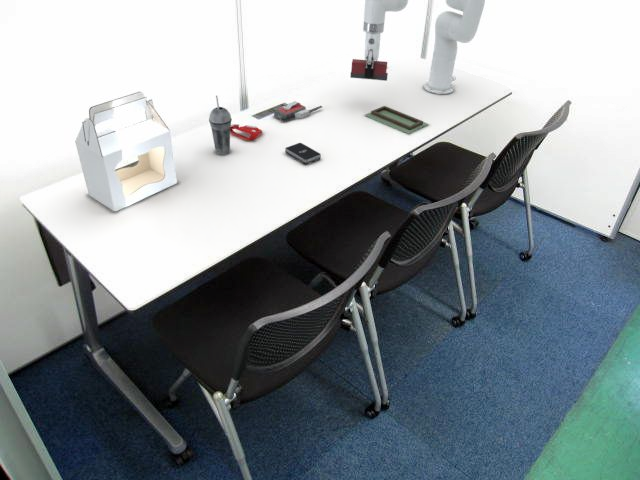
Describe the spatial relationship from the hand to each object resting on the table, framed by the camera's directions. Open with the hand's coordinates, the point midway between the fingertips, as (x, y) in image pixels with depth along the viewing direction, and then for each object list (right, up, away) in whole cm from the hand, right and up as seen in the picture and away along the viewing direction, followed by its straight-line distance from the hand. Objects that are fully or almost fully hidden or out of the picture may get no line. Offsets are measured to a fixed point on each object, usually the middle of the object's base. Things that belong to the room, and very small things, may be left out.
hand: (369, 75), depth 208 cm
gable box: (-74, -48, -47) cm, 100 cm away
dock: (+10, -17, -1) cm, 20 cm away
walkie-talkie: (-28, -15, +1) cm, 31 cm away
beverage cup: (-52, -34, -26) cm, 67 cm away
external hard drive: (-25, -35, -27) cm, 51 cm away
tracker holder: (-45, -26, -15) cm, 54 cm away
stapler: (0, -1, 0) cm, 1 cm away
